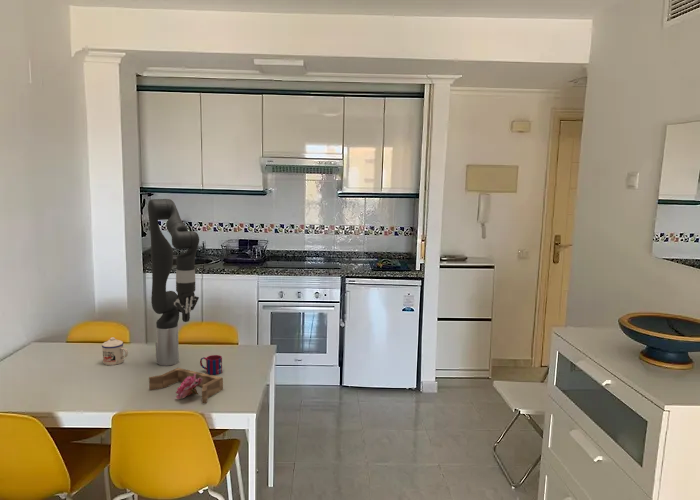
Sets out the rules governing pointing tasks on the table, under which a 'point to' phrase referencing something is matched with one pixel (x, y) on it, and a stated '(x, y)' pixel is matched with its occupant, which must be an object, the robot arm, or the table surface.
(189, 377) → the flower
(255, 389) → the table surface
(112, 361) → the teacup with lid
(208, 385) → the wooden slat frame
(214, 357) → the cup
